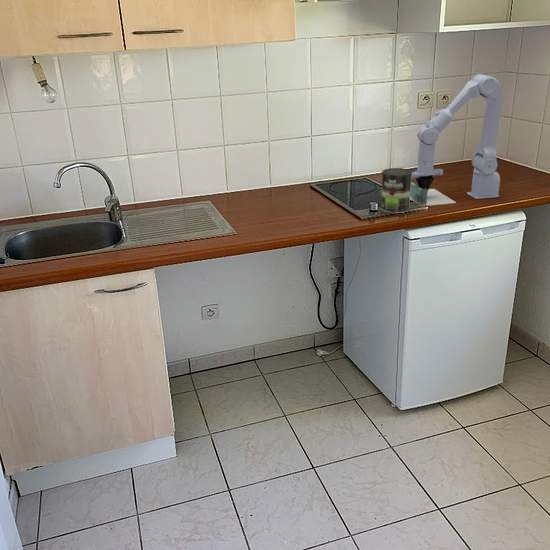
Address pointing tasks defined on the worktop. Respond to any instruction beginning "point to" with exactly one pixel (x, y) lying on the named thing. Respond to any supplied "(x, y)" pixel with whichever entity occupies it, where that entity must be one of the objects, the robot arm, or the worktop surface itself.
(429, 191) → the base board
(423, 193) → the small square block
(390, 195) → the coffee can
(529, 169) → the worktop surface
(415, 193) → the gate
